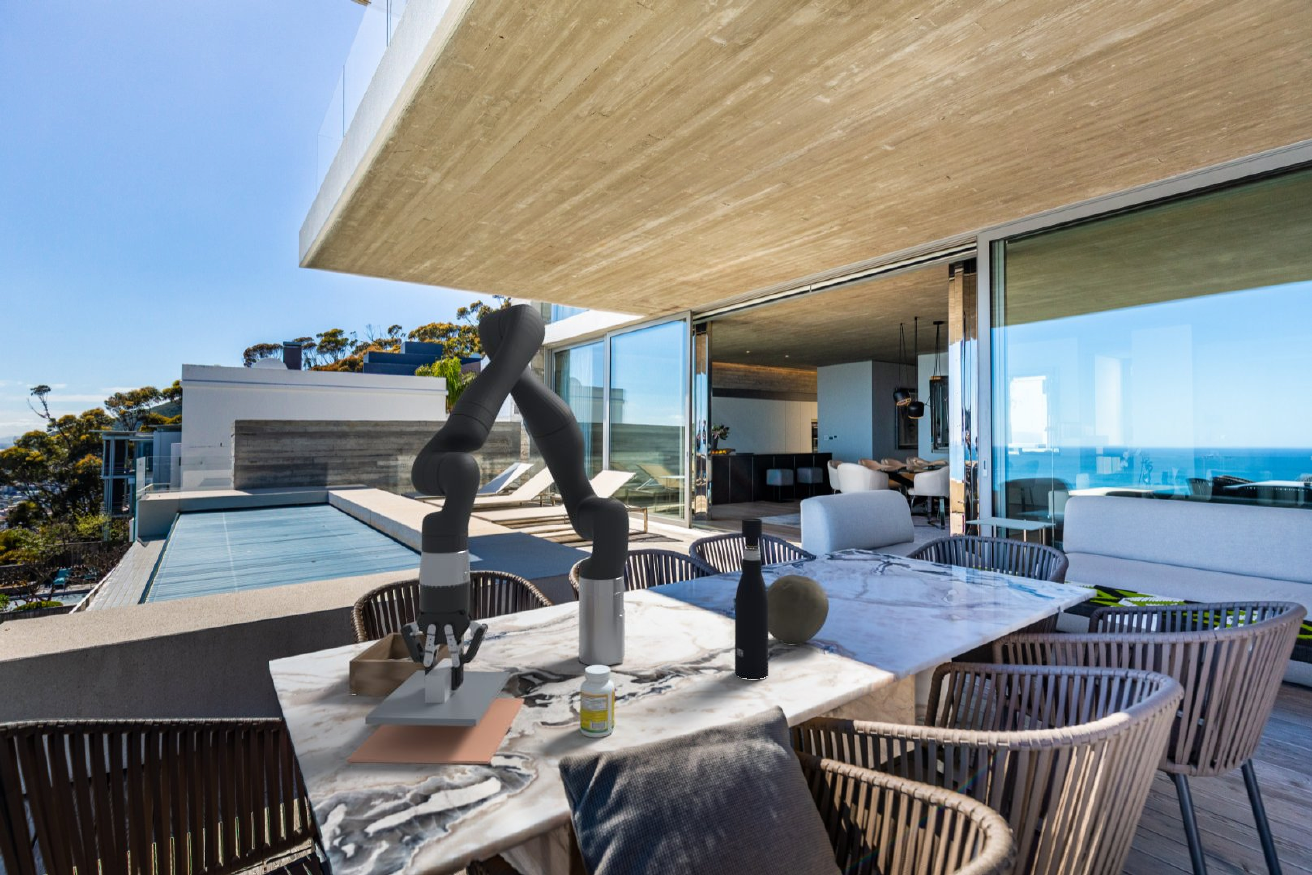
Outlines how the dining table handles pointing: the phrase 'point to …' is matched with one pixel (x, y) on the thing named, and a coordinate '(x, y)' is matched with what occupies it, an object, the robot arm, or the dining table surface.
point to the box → (386, 666)
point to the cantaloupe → (796, 609)
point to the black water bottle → (751, 609)
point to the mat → (441, 739)
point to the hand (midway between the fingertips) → (444, 688)
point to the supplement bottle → (597, 702)
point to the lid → (440, 698)
